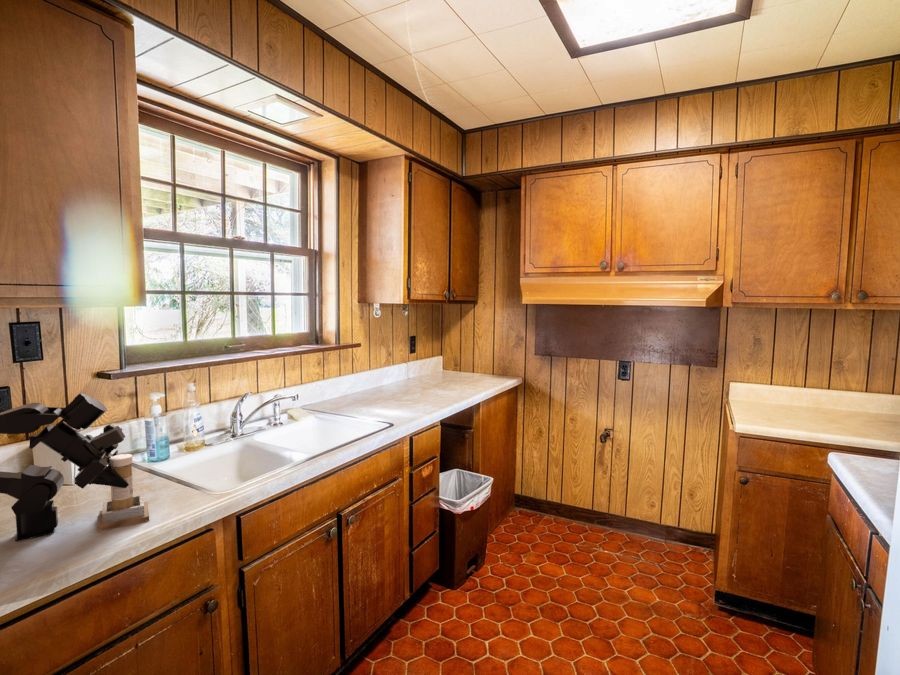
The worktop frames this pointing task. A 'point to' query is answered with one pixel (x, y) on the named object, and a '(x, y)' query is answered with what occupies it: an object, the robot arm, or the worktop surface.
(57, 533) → the worktop surface
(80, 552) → the worktop surface
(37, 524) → the robot arm
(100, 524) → the baseplate
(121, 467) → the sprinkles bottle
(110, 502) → the collar
